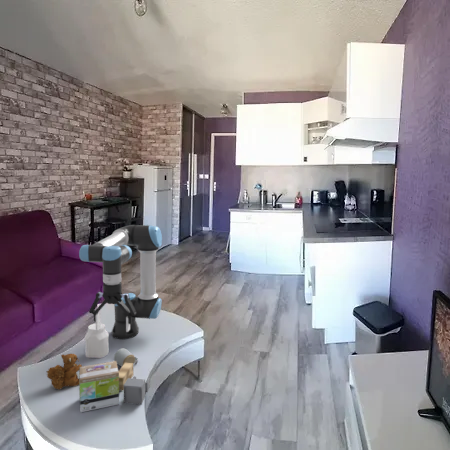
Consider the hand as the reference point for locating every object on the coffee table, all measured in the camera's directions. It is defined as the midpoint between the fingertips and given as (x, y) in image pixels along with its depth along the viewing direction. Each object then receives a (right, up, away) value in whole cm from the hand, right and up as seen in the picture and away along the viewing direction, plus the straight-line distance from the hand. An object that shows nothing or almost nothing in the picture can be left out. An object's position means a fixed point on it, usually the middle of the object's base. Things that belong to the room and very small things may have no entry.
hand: (113, 329), depth 152 cm
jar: (-18, -22, +31) cm, 42 cm away
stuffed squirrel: (-22, -26, +4) cm, 35 cm away
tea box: (-3, -28, -7) cm, 29 cm away
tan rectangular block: (+3, -26, +7) cm, 27 cm away
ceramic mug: (0, -24, +21) cm, 32 cm away
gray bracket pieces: (+11, -27, -2) cm, 30 cm away
